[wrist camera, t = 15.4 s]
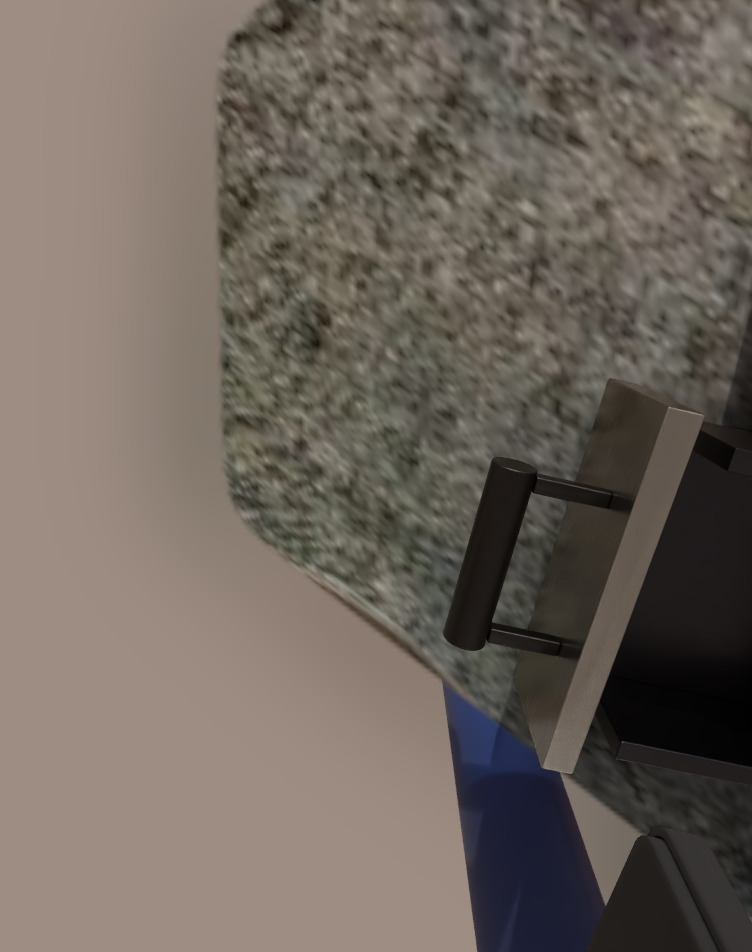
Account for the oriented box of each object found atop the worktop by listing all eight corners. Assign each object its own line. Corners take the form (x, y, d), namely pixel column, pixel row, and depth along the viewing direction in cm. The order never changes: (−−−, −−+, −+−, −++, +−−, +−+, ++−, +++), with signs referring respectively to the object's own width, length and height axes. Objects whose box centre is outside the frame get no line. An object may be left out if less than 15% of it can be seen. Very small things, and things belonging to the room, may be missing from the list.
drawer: (418, 656, 30) (425, 745, 24) (501, 352, 26) (532, 375, 20) (780, 730, 31) (869, 834, 25) (914, 447, 27) (1054, 493, 21)
